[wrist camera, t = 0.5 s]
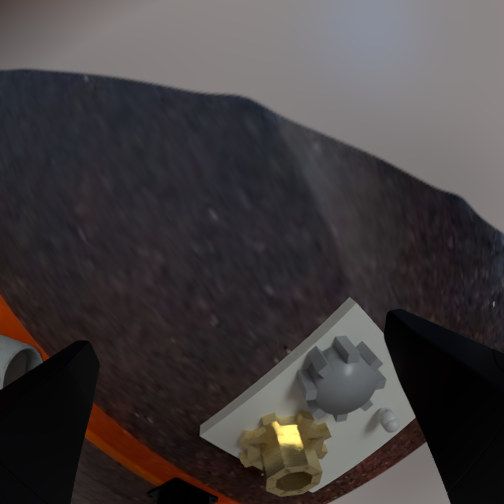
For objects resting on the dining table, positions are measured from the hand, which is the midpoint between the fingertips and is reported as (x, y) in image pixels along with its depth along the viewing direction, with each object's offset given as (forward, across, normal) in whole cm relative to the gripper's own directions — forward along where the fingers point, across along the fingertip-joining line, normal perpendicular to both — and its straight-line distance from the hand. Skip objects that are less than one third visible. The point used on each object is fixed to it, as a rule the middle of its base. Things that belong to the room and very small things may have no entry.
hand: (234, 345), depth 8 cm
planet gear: (+10, -2, +20) cm, 23 cm away
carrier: (+12, -6, +20) cm, 24 cm away
